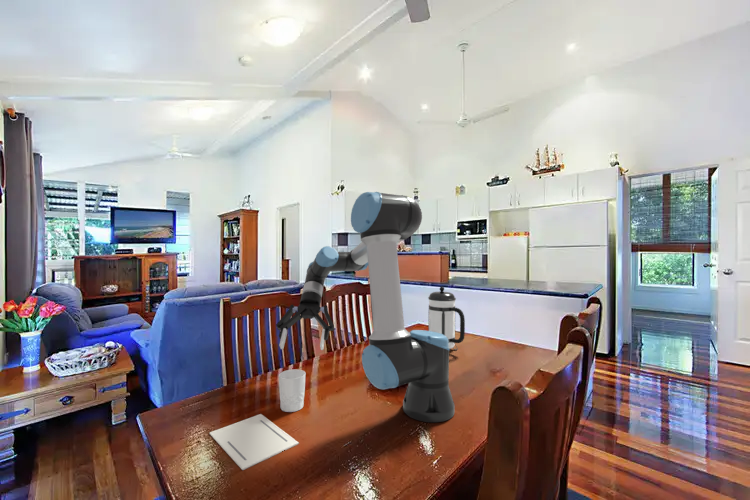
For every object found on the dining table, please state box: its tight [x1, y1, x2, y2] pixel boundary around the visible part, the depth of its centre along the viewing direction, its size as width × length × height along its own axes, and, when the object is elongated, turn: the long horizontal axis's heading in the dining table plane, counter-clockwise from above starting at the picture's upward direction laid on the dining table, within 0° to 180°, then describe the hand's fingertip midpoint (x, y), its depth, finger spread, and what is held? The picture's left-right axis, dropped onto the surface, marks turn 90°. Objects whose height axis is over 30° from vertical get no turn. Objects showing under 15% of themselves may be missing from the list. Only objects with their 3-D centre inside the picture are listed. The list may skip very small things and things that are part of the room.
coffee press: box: [427, 286, 466, 351], centre depth 159 cm, size 17×16×30 cm
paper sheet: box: [209, 413, 300, 471], centre depth 84 cm, size 20×14×1 cm
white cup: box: [278, 368, 307, 413], centre depth 101 cm, size 8×8×10 cm
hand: (301, 347), depth 112 cm, fingers open, 13 cm apart
